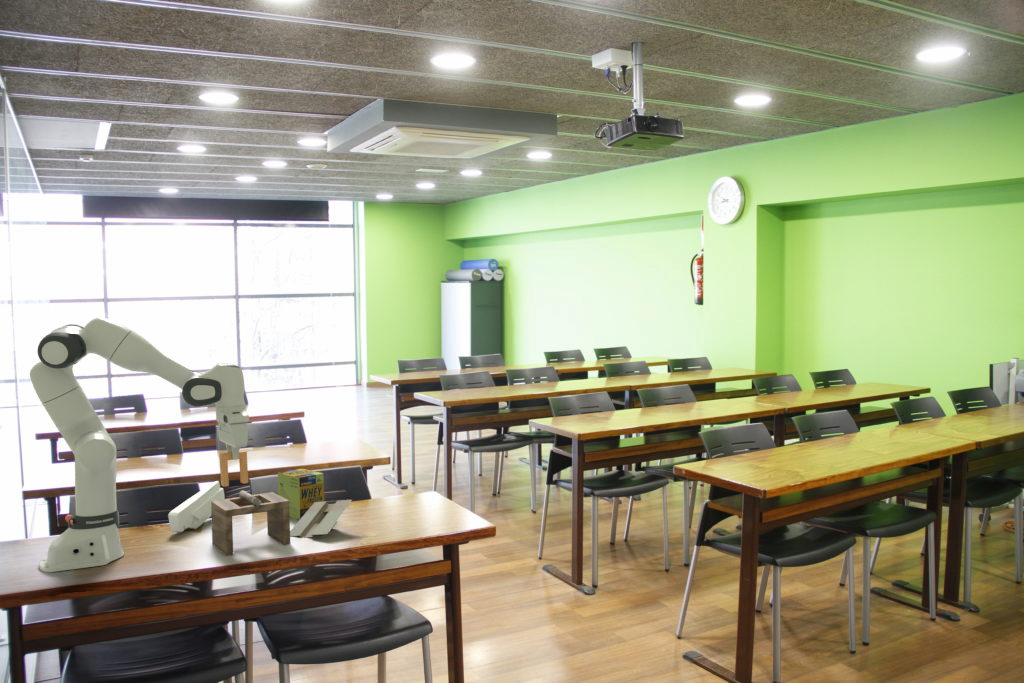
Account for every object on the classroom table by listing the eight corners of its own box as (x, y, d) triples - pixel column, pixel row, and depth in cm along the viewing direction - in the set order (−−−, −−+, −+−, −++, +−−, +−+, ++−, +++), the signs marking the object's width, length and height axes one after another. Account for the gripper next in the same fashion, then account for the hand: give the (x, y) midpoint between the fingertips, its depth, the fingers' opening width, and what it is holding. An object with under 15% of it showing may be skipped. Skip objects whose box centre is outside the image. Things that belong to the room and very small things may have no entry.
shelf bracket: (229, 515, 288) (224, 481, 285) (186, 550, 262) (180, 514, 259) (215, 514, 289) (210, 480, 286) (171, 550, 264) (164, 513, 261)
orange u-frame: (223, 486, 240) (221, 454, 240) (221, 485, 243) (219, 453, 243) (248, 482, 245) (246, 451, 244) (245, 481, 247) (243, 450, 247)
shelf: (226, 555, 237) (225, 504, 237) (212, 544, 250) (210, 494, 250) (290, 543, 249) (289, 494, 249) (273, 533, 262) (272, 486, 262)
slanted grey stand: (344, 551, 256) (363, 508, 267) (327, 534, 250) (348, 491, 262) (302, 553, 264) (322, 511, 276) (285, 536, 259) (307, 495, 271)
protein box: (300, 520, 278) (299, 477, 278) (278, 513, 289) (277, 472, 288) (325, 514, 286) (324, 473, 285) (302, 508, 296) (301, 467, 296)
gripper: (212, 412, 250) (214, 455, 250) (229, 419, 233) (231, 464, 233) (232, 410, 253) (234, 452, 254) (250, 416, 237) (253, 461, 237)
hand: (233, 458), depth 244 cm, fingers closed on orange u-frame, 3 cm apart
